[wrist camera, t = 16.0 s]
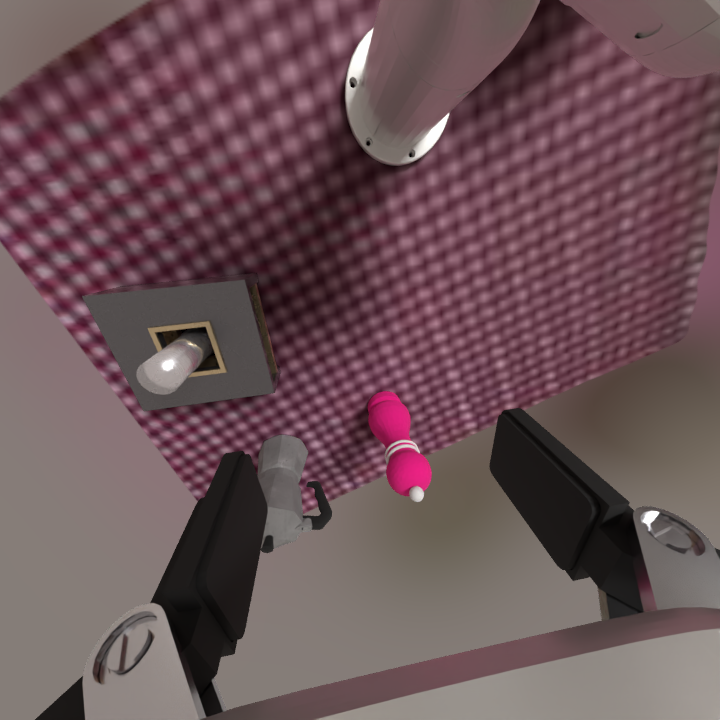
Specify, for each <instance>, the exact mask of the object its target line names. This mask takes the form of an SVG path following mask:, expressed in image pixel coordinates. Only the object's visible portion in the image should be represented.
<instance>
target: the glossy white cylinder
mask: <svg viewBox="0 0 720 720" xmlns="http://www.w3.org/2000/svg"><path fill="white" fill-rule="evenodd" d="M213 352H214V349H213V346H212V344H211V341H210V338H209V335H208V332H207V329H206V327H197V328H189V329H188V330H187V331H185V332H184V333H182V334H181V336H180V337H179V338H178V339H176V340H175V341H173V342H172V343H171V344H169V345H168V346H166V347H165V348H164V349H162V350H161V351H159V352H158V353H157V354H155V355H154V356H152V357H151V358H150V359H148V360H147V361H145V362H144V363H143V364H141V365H140V366H139V367H138V369H137V373H136V375H137V379H138V381H139V383H140V384H141V385H142V386H143V387H144V388H145V389H146V390H148V391H150V392H152V393H155V394H161V395H165V394H170V393H172V392H174V391H176V390H177V389H178V388H179V386H180V385H181V384H182V383H183V382H184V381H185V380H186V379H187V378H188V377H189V376H190V375H191V374H192V373H193V372H194V371H195V369H196V368H197V367H198V366H199V365H200V364H201V363H202V362H203V361H204V360H205V359H206V358H208V357H209V356H210V355H211V354H212V353H213Z"/></svg>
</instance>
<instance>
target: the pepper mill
mask: <svg viewBox="0 0 720 720" xmlns="http://www.w3.org/2000/svg"><path fill="white" fill-rule="evenodd" d="M368 412H369V418H368V422H369V426H370V428H371V431H372V432H373V434H374V435H375V436H376V437H377V438H378V439H379V440H380V441H381V442H382V443H383V444H384V445H385V447H386V452H385V459H386V463H387V470H386V474H387V479H388V482H389V484H390V486H391V487H392V489H393V490H395V491H396V492H397V493H399V494H400V495H404V496H410V498H411V499H412V500H413V501H415V502H420V501H421V500H422V499H423V497H424V492H423V491H425V490H426V488H427V487H428V486H429V484H430V481H431V468H430V465H429V463H428V461H427V459H426V458H425V457H424V456H423V455H422V454H420V451H419V450H418V447H417V445H416V444H415V443H414V442H412V441H411V440H410V437H409V430H410V423H411V421H410V415H409V412H408V410H407V408H406V407H405V406H404V405H403V404H402V403H401V401H400V399H399V397H398V396H397V395H396V394H394V393H392V392H388V391H384V392H380V393H377V394H375V395H374V396H373V397H372V398H371V399H370V401H369V403H368Z"/></svg>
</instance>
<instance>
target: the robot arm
mask: <svg viewBox="0 0 720 720" xmlns="http://www.w3.org/2000/svg"><path fill="white" fill-rule="evenodd" d="M559 1H561V2H562V3H563V4H564V5H567V6H570V7H572V8H573V9H574V10H575V11H576V12H578V13H579V14H580V15H581V16H582V17H583V18H585V19H586V20H587V21H588V22H589V23H591V24H592V25H593V26H594V27H595V28H597V29H598V30H599V31H600V32H601V33H603V34H604V35H605V36H606V37H607V38H609V39H610V40H611V41H612V42H613V43H615V44H616V45H617V46H618V47H619V48H621V49H622V50H623V51H624V52H625V53H627V54H629V55H630V56H631V57H632V58H634V59H635V60H636V61H637V62H639V63H640V64H642V65H643V66H645V67H646V68H648V69H649V70H651V71H653V72H655V73H658V74H660V75H663V76H667V77H672V78H690V77H697V76H701V75H705V74H709V73H712V72H716V71H719V70H720V0H559ZM539 2H540V0H381V1H380V5H379V9H378V13H377V16H376V20H375V24H374V28H372V29H371V30H370V31H369V32H368V33H367V34H366V35H365V36H364V37H363V39H362V40H361V41H360V43H359V44H358V46H357V48H356V50H355V52H354V54H353V56H352V58H351V61H350V65H349V68H348V72H347V77H346V85H345V108H346V113H347V118H348V122H349V125H350V128H351V130H352V133H353V135H354V137H355V138H356V140H357V142H358V144H359V145H360V146H361V147H362V149H363V150H364V151H365V152H366V153H367V154H368V155H370V156H371V157H372V158H373V159H375V160H377V161H379V162H381V163H383V164H387V165H391V166H401V165H406V164H410V163H412V162H414V161H416V160H418V159H419V158H421V157H422V156H424V155H425V154H426V153H427V152H428V151H429V150H430V149H431V148H432V147H433V146H434V145H435V143H436V142H437V141H438V140H439V138H440V136H441V134H442V132H443V130H444V129H445V126H446V123H447V120H448V118H449V114H450V111H452V110H453V109H454V108H455V107H456V106H457V105H458V104H459V103H460V102H461V101H462V100H463V99H464V98H465V97H466V96H467V95H468V94H469V93H470V92H471V91H472V90H473V89H474V88H475V87H477V86H478V85H479V84H480V83H481V82H482V81H483V80H484V79H485V78H486V77H487V76H488V75H489V74H490V73H491V72H492V71H493V70H494V69H495V68H496V67H497V66H498V65H499V64H500V63H501V62H502V61H503V60H504V59H505V58H506V57H507V55H508V54H509V53H510V52H511V51H512V49H513V48H514V47H515V46H516V44H517V43H518V41H519V40H520V38H521V37H522V35H523V34H524V32H525V30H526V29H527V27H528V25H529V23H530V21H531V20H532V17H533V15H534V13H535V11H536V9H537V7H538V4H539ZM351 84H353V85H354V88H352V87H351V86H350V85H351ZM366 142H369V143H370V146H367V145H366ZM409 153H411V155H412V157H409ZM490 470H491V473H492V474H493V476H494V478H495V479H496V480H497V482H498V483H499V485H500V486H501V487H502V489H503V490H504V492H505V493H506V495H507V496H508V497H509V499H510V500H511V502H512V503H513V504H514V506H515V507H516V509H517V510H518V511H519V513H520V514H521V516H522V517H523V518H524V520H525V521H526V522H527V524H528V525H529V527H530V528H531V529H532V531H533V532H534V534H535V535H536V536H537V538H538V539H539V541H540V542H541V543H542V545H543V546H544V548H545V549H546V550H547V552H548V553H549V555H550V556H551V558H552V559H553V560H554V562H555V563H556V564H557V566H559V567H560V568H561V569H562V570H565V571H566V572H567V573H568V575H569V576H570V578H571V579H572V580H573V581H574V580H578V579H584V578H588V577H591V578H592V580H593V581H594V582H595V584H596V585H597V586H598V594H599V603H600V610H601V618H602V621H599V622H594V623H590V624H585V625H581V626H576V627H572V628H567V629H563V630H559V631H554V632H550V633H546V634H541V635H537V636H532V637H528V638H523V639H519V640H514V641H510V642H506V643H501V644H497V645H493V646H489V647H484V648H480V649H475V650H471V651H467V652H462V653H458V654H454V655H449V656H445V657H441V658H436V659H432V660H428V661H424V662H419V663H415V664H411V665H406V666H402V667H398V668H394V669H389V670H385V671H381V672H377V673H373V674H368V675H364V676H360V677H356V678H352V679H348V680H343V681H339V682H335V683H331V684H326V685H322V686H318V687H314V688H310V689H306V690H301V691H297V692H294V693H290V694H286V695H282V696H278V697H275V698H271V699H267V700H264V701H259V702H255V703H252V704H248V705H244V706H240V707H236V708H233V709H230V710H227V709H226V706H225V704H224V702H223V699H222V696H221V694H220V691H219V688H218V686H217V683H216V681H215V678H214V677H215V676H216V674H217V671H218V667H219V662H220V658H221V657H223V656H228V655H232V654H235V648H236V644H237V640H238V639H241V638H242V637H243V635H244V632H245V628H246V623H247V617H248V612H249V607H250V602H251V597H252V591H253V586H254V581H255V576H256V571H257V566H258V561H259V555H260V550H261V545H262V540H263V535H264V530H265V524H266V519H267V514H268V506H267V502H266V499H265V496H264V493H263V491H262V488H261V485H260V482H259V479H258V476H257V474H256V471H255V468H254V465H253V462H252V459H251V457H250V455H249V454H246V455H245V453H244V452H243V451H238V452H232V453H226V454H224V456H223V458H222V460H221V462H220V464H219V467H218V469H217V471H216V473H215V476H214V478H213V480H212V482H211V485H210V487H209V489H208V491H207V494H206V496H205V497H203V498H201V499H200V500H199V501H198V503H197V504H196V506H195V508H194V510H193V512H192V515H191V517H190V519H189V521H188V523H187V526H186V528H185V530H184V532H183V534H182V536H181V538H180V540H179V543H178V545H177V547H176V549H175V551H174V553H173V556H172V558H171V560H170V562H169V564H168V566H167V568H166V571H165V573H164V575H163V577H162V579H161V581H160V583H159V586H158V588H157V590H156V592H155V594H154V596H153V598H152V601H151V603H148V604H143V605H140V606H138V607H136V608H133V609H132V610H130V611H129V612H127V613H126V614H124V615H123V616H121V617H120V618H119V619H118V620H117V621H116V622H115V623H114V624H113V625H111V626H110V627H109V629H108V630H107V631H106V632H105V634H104V635H103V636H102V637H101V638H100V639H99V641H98V642H97V644H96V646H95V647H94V649H93V651H92V652H91V654H90V656H89V658H88V661H87V664H86V666H85V668H84V674H83V676H82V677H81V678H80V679H79V680H78V681H77V682H76V683H75V684H74V685H72V686H71V687H70V688H69V689H68V690H67V691H66V692H65V693H64V694H63V695H61V696H60V697H59V698H58V699H57V700H56V701H55V702H54V703H53V704H52V705H51V706H49V708H47V709H46V710H45V711H44V712H43V713H42V714H41V715H40V716H39V717H37V718H36V719H35V720H720V550H718V549H716V548H714V546H713V545H712V544H711V542H710V541H709V539H708V538H707V537H706V536H705V535H704V534H703V533H702V532H701V531H700V530H699V529H698V528H696V527H695V526H694V525H692V524H691V523H689V522H688V521H687V520H685V519H683V518H681V517H679V516H678V515H676V514H674V513H671V512H669V511H666V510H664V509H660V508H656V507H651V506H649V507H648V506H642V507H639V508H637V509H636V510H635V511H634V510H633V509H632V508H630V506H628V505H629V501H628V500H626V499H625V498H624V497H623V496H622V495H621V494H619V493H618V492H617V491H616V490H615V489H613V487H611V486H610V485H609V484H608V483H607V482H606V481H604V480H603V479H602V478H601V477H600V476H599V475H598V474H596V473H595V472H594V471H593V470H592V469H590V468H589V467H588V466H587V465H586V464H585V463H583V462H582V461H581V460H580V459H579V458H578V457H577V456H575V455H574V454H573V453H572V452H571V451H570V450H569V449H567V448H566V447H565V446H564V445H563V444H562V443H560V442H559V441H558V440H557V439H556V438H555V437H554V436H552V435H551V434H550V433H549V432H548V431H547V430H545V429H544V428H543V427H542V426H541V425H540V424H539V423H537V422H536V421H535V420H534V419H533V418H532V417H531V416H529V415H528V414H527V413H526V412H525V411H524V410H522V409H520V408H516V409H509V410H504V411H503V412H502V414H501V415H499V417H498V421H497V427H496V433H495V438H494V444H493V449H492V455H491V460H490Z"/></svg>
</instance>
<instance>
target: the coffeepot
mask: <svg viewBox="0 0 720 720" xmlns="http://www.w3.org/2000/svg"><path fill="white" fill-rule="evenodd" d="M307 455H308V451H307V449H306V447H305V445H304V443H303V442H302V441H301V439H298V438H296V437H293V436H290V435H278V436H274V437H272V438H270V439H268V440H266V441H264V443H263V446H262V448H261V450H260V453H259V458H258V479H259V482H260V485H261V488H262V491H263V493H264V496H265V499H266V502H267V506H268V514H267V519H266V524H265V530H264V535H263V540H262V545H261V547H262V548H261V551H262V552H264V553H269V552H272V551H273V549H274V548H277V547H279V546H282V545H285V544H288V543H291V542H294V541H296V539H297V537H298V536H299V534H300V532H309V531H311V530H320V529H322V528H323V527H324V526H325V525H326V524H327V522H328V521H329V520H330V519H331V517H332V510H331V508H330V506H329V503H328V501H327V499H326V496H325V494H324V492H323V489H322V487H321V484H320V482H318V481H312V482H308V484H307V487H313V488H314V489H315V497H316V499H317V501H318V506H319V510H320V512H321V514H320V515H319V516H303V510H302V499H301V489H300V487H299V485H298V483H299V481H300V479H301V476H302V472H303V469H304V465H305V462H306V458H307Z"/></svg>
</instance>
